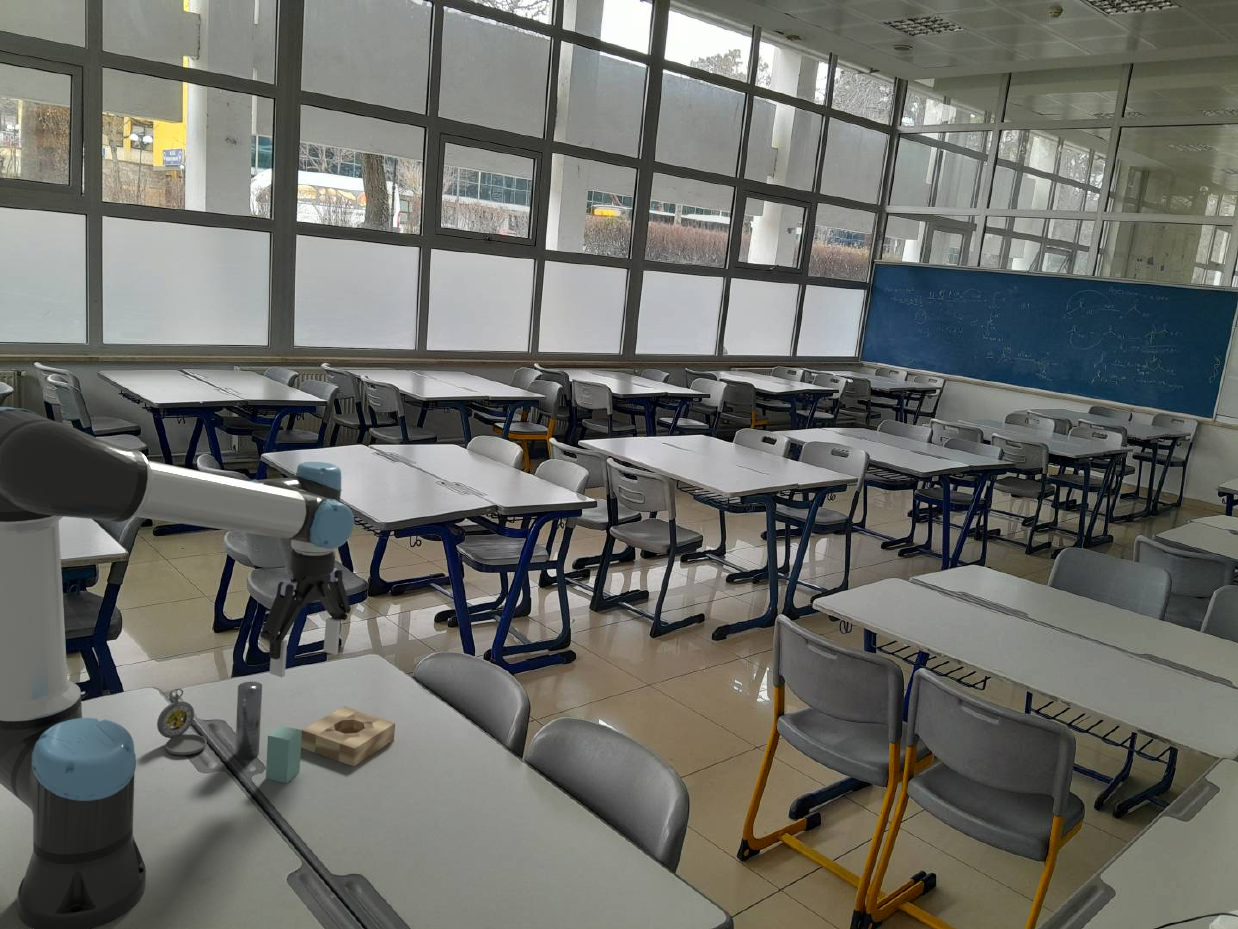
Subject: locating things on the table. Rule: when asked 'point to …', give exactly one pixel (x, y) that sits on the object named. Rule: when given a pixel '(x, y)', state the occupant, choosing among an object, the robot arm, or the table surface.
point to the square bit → (283, 754)
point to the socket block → (348, 735)
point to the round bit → (248, 720)
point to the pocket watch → (179, 728)
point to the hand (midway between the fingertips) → (304, 663)
